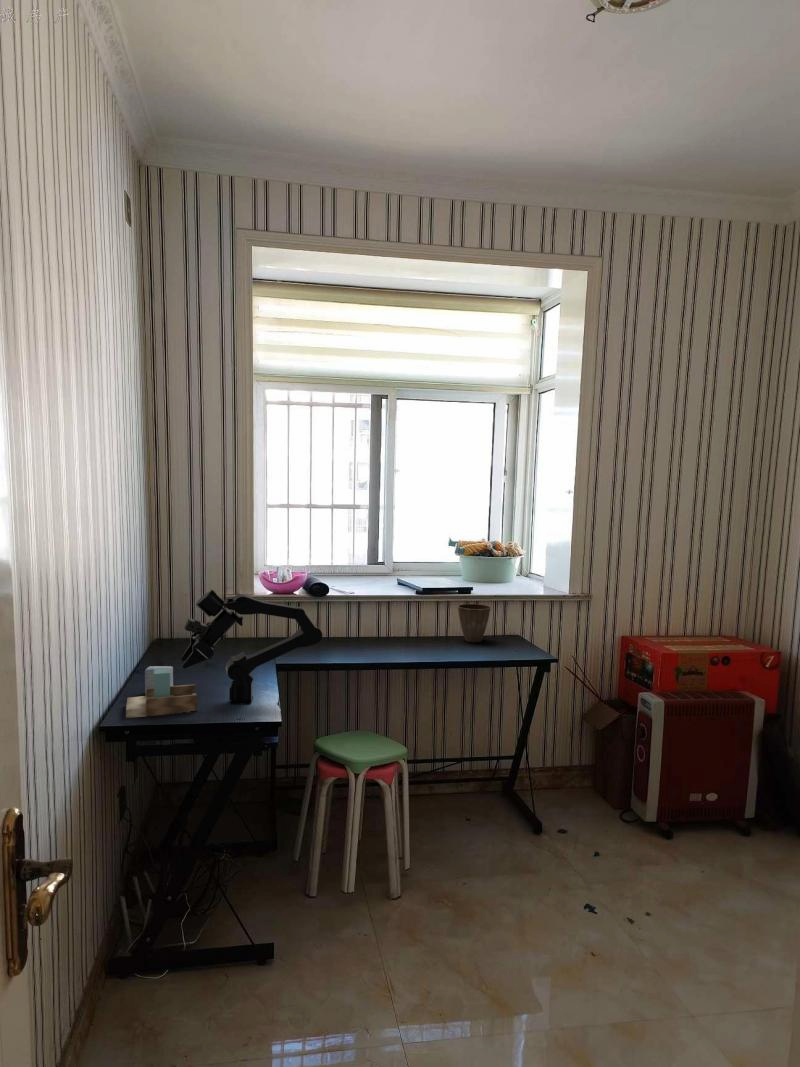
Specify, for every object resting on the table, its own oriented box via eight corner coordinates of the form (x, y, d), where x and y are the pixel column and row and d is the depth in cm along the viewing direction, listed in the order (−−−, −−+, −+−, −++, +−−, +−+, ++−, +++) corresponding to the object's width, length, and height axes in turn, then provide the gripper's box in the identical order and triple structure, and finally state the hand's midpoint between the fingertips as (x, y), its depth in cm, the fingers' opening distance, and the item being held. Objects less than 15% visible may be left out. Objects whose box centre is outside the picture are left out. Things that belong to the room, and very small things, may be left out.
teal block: (169, 697, 204) (169, 669, 204) (170, 701, 200) (169, 672, 199) (154, 698, 202) (154, 670, 202) (154, 703, 198) (154, 674, 198)
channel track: (195, 699, 210) (195, 684, 210) (197, 711, 199) (197, 695, 199) (127, 705, 203) (127, 689, 203) (126, 718, 192) (125, 701, 192)
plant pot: (453, 637, 309) (454, 603, 308) (483, 636, 312) (484, 603, 311) (461, 644, 295) (462, 609, 294) (493, 644, 297) (494, 609, 296)
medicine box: (173, 691, 218) (173, 666, 218) (169, 695, 214) (169, 669, 213) (149, 691, 218) (149, 665, 218) (144, 695, 214) (144, 669, 213)
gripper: (198, 604, 212) (162, 640, 209) (202, 614, 195) (163, 654, 192) (223, 627, 215) (188, 662, 212) (229, 639, 198) (191, 678, 195)
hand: (182, 663), depth 203 cm, fingers open, 9 cm apart
